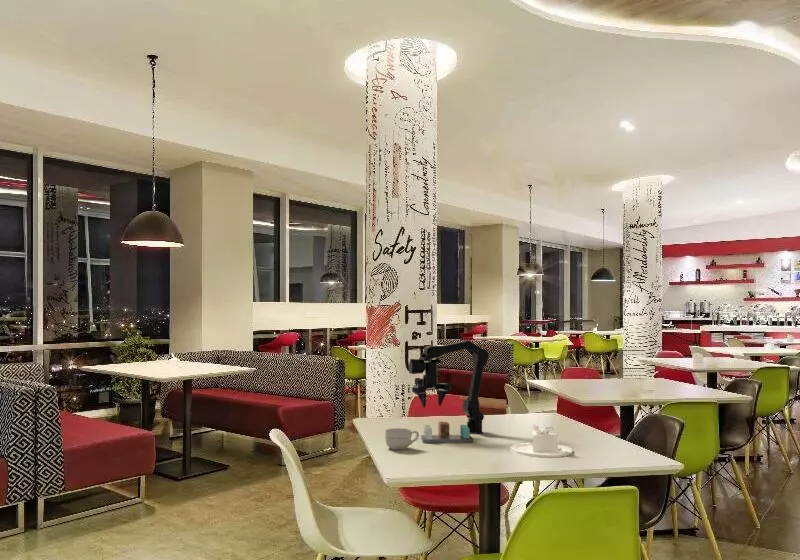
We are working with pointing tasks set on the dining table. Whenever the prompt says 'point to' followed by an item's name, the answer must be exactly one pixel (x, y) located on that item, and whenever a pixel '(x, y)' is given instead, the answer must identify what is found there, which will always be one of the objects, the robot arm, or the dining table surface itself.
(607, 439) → the dining table surface
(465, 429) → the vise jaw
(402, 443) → the teacup
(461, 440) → the vise base
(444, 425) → the brown rectangular block
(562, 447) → the dish
